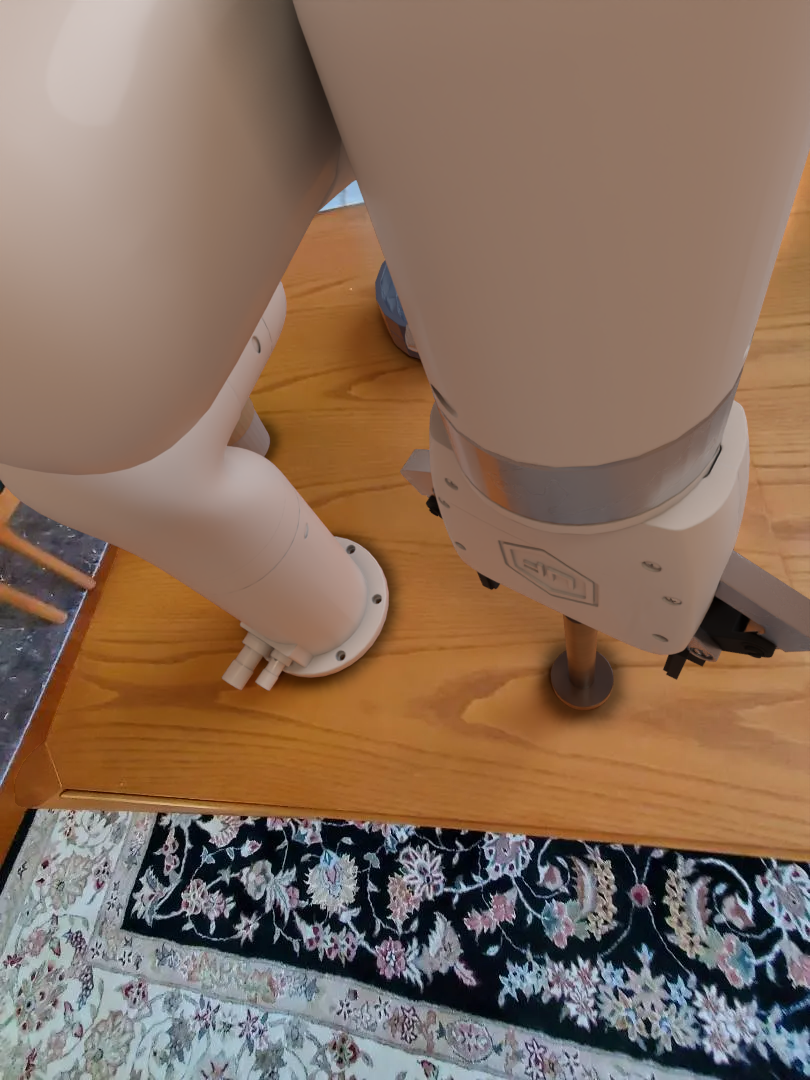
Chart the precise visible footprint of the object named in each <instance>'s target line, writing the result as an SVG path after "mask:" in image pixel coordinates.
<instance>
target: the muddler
mask: <svg viewBox="0 0 810 1080" xmlns="http://www.w3.org/2000/svg"><path fill="white" fill-rule="evenodd" d="M562 620H563V629H564V630H563V631H564V640H565V648H566V649H565V650H564V651H563V652H561V653H560V654H559V655H558V656H557V657H556V658H555V660H554V662H553V663H552V666H551V670H550V682H551V685H552V686H551V687H552V689H553V691H554V694H555V695H556V697H557V698H558V699H559V700H560V702H562V703H563V704H564V705H566V706H568V707H569V708H571V709H575V710H577V711H578V710H579V711H590V710H594V709H597V708H599V707H600V706H602V705H603V704H605V703H606V702H607V701H608V699H609V698H610V696H611V694H612V692H613V688H614V680H615V677H614V671H613V667H612V665H611V664H610V662H609V660H608V659H607V658H606V657H605V656H604V655H603V654H602V653H600V652H599V651H597V642H598V630H596V629H593V628H591V627H589V626H587V625H585V624H583V623H581V622H578V621H576V620H574V619H572V618H570V617H568V616H566V615H564V614H562Z"/></svg>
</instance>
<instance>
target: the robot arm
mask: <svg viewBox="0 0 810 1080" xmlns="http://www.w3.org/2000/svg"><path fill="white" fill-rule="evenodd" d="M809 154H810V0H0V482H1V483H2V484H3V485H4V487H5V488H6V489H7V490H8V491H9V492H10V493H11V495H13V497H14V498H16V499H17V500H18V501H20V502H21V503H23V504H24V505H25V506H27V507H29V508H31V509H32V510H34V512H37V513H38V514H39V515H41V516H44V517H45V518H47V519H49V520H52V521H54V522H56V523H58V524H60V525H62V526H64V527H67V528H70V529H72V530H75V531H77V532H80V533H82V534H85V535H87V536H90V537H93V538H95V539H98V540H100V541H102V542H105V543H106V544H110V545H112V546H113V547H117V548H120V549H121V550H123V551H126V552H128V553H130V554H131V555H134V556H137V557H138V558H140V559H142V560H144V561H145V562H147V563H149V564H151V565H153V566H154V567H156V568H158V569H160V570H161V571H163V572H164V573H165V574H168V576H171V577H172V578H174V579H176V580H177V581H179V582H180V583H181V584H183V585H185V586H186V587H188V588H189V589H191V590H192V591H194V592H196V593H197V594H198V595H200V596H201V597H203V598H204V599H206V600H207V601H209V602H210V603H212V604H214V605H215V606H217V607H219V608H220V609H221V610H222V611H225V612H226V613H228V614H229V615H230V616H232V617H234V618H235V619H236V620H238V621H239V622H240V623H239V626H240V627H241V628H242V629H244V630H245V631H247V633H246V635H245V636H244V639H242V641H241V643H242V644H244V645H243V647H242V649H241V650H240V652H239V653H238V654H237V656H236V658H235V659H233V660H232V661H231V663H230V664H229V666H228V667H227V669H226V670H225V671H224V673H223V675H221V679H222V680H223V681H224V682H225V683H227V684H229V685H230V686H232V687H234V688H235V689H237V690H239V691H242V690H243V689H244V688H245V686H246V684H247V683H248V681H250V678H251V677H252V675H254V672H255V669H256V668H257V666H258V665H259V663H260V662H261V660H262V659H263V658H264V659H265V660H266V661H267V662H268V663H267V665H266V666H265V668H262V671H261V672H260V673H259V675H258V676H257V678H256V680H254V682H255V683H256V685H258V686H260V687H261V688H263V689H265V690H266V691H268V692H271V690H272V688H273V687H274V685H275V684H276V682H277V681H278V679H279V676H280V675H281V673H282V672H284V673H285V674H288V675H292V676H296V677H300V678H311V679H312V678H320V677H326V676H330V675H333V674H336V673H339V672H341V671H342V670H345V669H347V668H348V667H350V666H352V665H353V664H355V663H356V662H357V661H358V660H359V659H361V658H362V657H363V656H364V655H365V654H366V653H367V652H368V651H369V650H370V648H371V647H373V645H374V643H375V642H376V640H377V639H378V637H379V636H380V634H381V632H382V630H383V628H384V624H385V622H386V620H387V616H388V612H389V606H390V605H389V603H390V602H389V601H390V599H389V598H390V592H389V587H388V586H389V585H388V581H387V578H386V576H385V573H384V570H383V568H382V567H381V565H380V564H379V562H378V561H377V559H376V558H375V557H374V556H373V555H372V554H371V552H370V551H369V550H368V549H366V548H365V547H364V546H362V545H360V544H359V543H357V542H355V541H353V540H351V539H348V538H345V537H340V536H334V535H333V533H332V532H331V531H330V530H329V529H328V527H327V526H326V525H325V524H324V523H323V521H322V520H321V519H320V518H319V516H318V515H317V514H316V513H315V511H314V510H313V509H312V508H311V506H310V504H308V502H306V500H305V499H304V498H303V496H302V495H301V494H300V493H299V491H298V490H297V489H296V488H295V487H294V486H293V484H292V483H291V482H290V481H289V479H288V478H287V476H285V475H284V473H283V472H282V471H281V470H280V469H279V468H278V467H277V466H276V465H275V464H274V463H273V462H272V461H271V460H269V459H268V458H266V457H265V456H264V457H263V456H261V455H259V454H257V453H255V452H252V451H250V450H247V449H243V448H239V447H231V446H227V444H228V441H229V439H230V437H231V434H232V432H233V430H234V428H235V426H236V424H237V423H238V421H239V419H240V416H241V411H242V409H243V407H244V406H245V404H246V402H247V400H248V398H249V397H250V396H251V394H252V392H253V390H254V388H255V386H256V384H257V383H258V380H259V378H260V377H261V374H262V373H263V371H264V369H265V367H266V365H267V363H268V361H269V359H270V358H271V356H272V353H273V351H274V349H275V348H276V346H277V343H278V341H279V339H280V337H281V334H282V333H283V329H284V326H285V321H286V316H287V296H286V291H285V288H284V284H283V283H282V279H283V277H284V275H285V273H286V272H287V269H288V268H289V266H290V263H291V262H292V260H293V258H294V256H295V254H296V252H297V250H298V248H299V246H300V244H301V242H302V241H303V239H304V236H305V235H306V232H307V231H308V229H309V227H310V225H311V223H312V222H313V220H314V218H315V216H316V215H317V214H318V213H319V212H320V211H321V210H322V209H323V208H325V207H326V205H328V204H329V203H330V202H331V201H333V200H334V198H336V197H337V196H338V195H340V193H341V192H343V191H344V190H345V189H346V188H347V187H349V186H350V185H351V184H352V183H354V182H355V181H356V183H357V186H358V189H359V191H360V195H361V197H362V200H363V202H364V205H365V208H366V211H367V215H368V216H369V219H370V222H371V225H372V228H373V231H374V233H375V236H376V238H377V241H378V244H379V248H380V250H381V252H382V255H383V258H384V261H386V264H387V267H388V269H389V272H390V275H391V278H392V280H393V283H394V286H395V289H396V292H397V294H398V297H399V300H400V303H401V306H402V308H403V311H404V314H405V317H406V320H407V325H406V331H405V340H406V345H407V347H408V349H410V350H412V351H414V352H418V353H419V356H420V359H419V360H420V361H421V364H422V367H423V370H424V372H425V375H426V378H427V381H428V385H429V386H430V389H431V393H432V397H433V399H434V402H433V404H432V407H431V410H430V415H429V427H428V429H429V431H428V435H429V439H428V440H429V441H428V442H429V443H428V444H429V448H428V449H425V448H423V449H421V448H415V449H413V451H412V452H411V454H410V455H409V457H408V458H407V459H406V461H405V463H404V464H403V466H402V468H401V469H400V471H399V473H400V474H401V476H402V477H403V478H404V479H405V480H406V481H407V482H408V483H409V484H410V485H411V486H412V487H413V488H414V489H415V490H416V491H417V492H418V493H419V494H420V495H421V496H426V497H427V498H428V499H427V500H426V502H425V505H426V507H427V508H428V511H429V513H431V514H432V515H433V516H435V517H437V518H438V517H439V518H441V520H442V522H443V524H444V527H445V529H446V532H447V535H448V538H449V540H450V541H451V544H452V546H453V548H454V550H455V551H456V554H457V555H458V557H459V558H460V559H461V561H462V562H463V563H464V564H466V565H467V566H468V567H470V568H471V569H473V570H474V571H476V573H477V576H478V579H479V580H480V583H481V585H482V586H483V587H485V588H486V589H488V590H490V591H493V590H497V589H498V588H500V586H501V585H502V586H503V587H506V588H507V589H510V590H512V591H514V592H515V593H518V594H520V595H523V596H524V597H526V598H528V599H531V600H532V601H534V602H537V603H538V604H541V605H543V606H544V607H546V608H549V609H550V610H553V611H556V612H557V613H560V614H561V615H563V614H564V615H566V616H568V617H570V618H572V619H574V620H576V621H578V622H581V623H583V624H585V625H587V626H589V627H591V628H593V629H596V630H597V632H600V633H602V634H604V635H606V636H609V637H610V638H613V639H615V640H618V641H619V642H622V643H624V644H626V645H628V646H631V647H633V648H635V649H639V650H641V651H644V652H647V653H651V654H654V655H658V656H667V658H666V661H665V663H664V666H663V669H662V671H664V672H666V673H665V675H666V676H668V677H670V678H672V679H675V680H676V681H677V680H678V678H679V676H680V674H681V672H682V670H683V668H684V666H685V664H686V662H687V661H690V662H692V663H693V664H696V665H698V666H700V667H701V668H703V667H704V665H705V663H706V662H711V663H717V661H718V660H719V657H720V656H721V653H722V652H727V653H732V654H733V653H734V654H739V655H745V656H746V655H747V656H750V657H752V658H755V659H762V658H766V659H769V658H772V657H773V656H774V653H775V651H776V650H781V651H783V652H784V653H797V652H798V653H801V652H802V653H803V652H810V598H808V597H807V596H806V595H804V594H802V593H800V592H799V591H797V590H796V589H795V588H793V587H791V586H790V585H788V584H787V583H785V582H784V581H783V580H780V579H779V578H778V577H776V576H774V575H772V574H771V573H770V572H768V571H767V570H765V569H764V568H762V567H760V566H758V564H756V563H754V562H752V561H751V560H749V559H748V558H746V557H745V556H743V555H742V554H740V553H738V552H737V551H735V547H736V545H737V540H738V536H739V533H740V529H741V525H742V522H743V518H744V513H745V508H746V507H745V506H746V501H747V496H748V491H749V483H750V482H749V481H750V464H751V462H750V461H751V457H750V456H751V453H750V436H749V427H748V420H747V415H746V411H745V409H744V407H743V406H742V404H741V403H740V402H738V401H737V400H735V397H736V394H737V391H738V388H739V384H740V381H741V378H742V374H743V372H744V367H745V364H746V361H747V358H748V355H749V351H750V348H751V345H752V342H753V338H754V335H755V331H756V327H757V324H758V322H759V319H760V316H761V311H762V308H763V304H764V302H765V298H766V296H767V292H768V288H769V285H770V282H771V279H772V275H773V272H774V268H775V265H776V262H777V260H778V259H777V258H778V256H779V252H780V249H781V246H782V242H783V239H784V237H785V232H786V229H787V225H788V222H789V219H790V216H791V213H792V209H793V206H794V202H795V199H796V196H797V193H798V190H799V187H800V183H801V180H802V176H803V173H804V170H805V167H806V163H807V160H808V157H809ZM378 602H379V603H378ZM343 657H344V658H343ZM342 658H343V659H342Z"/></svg>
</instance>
